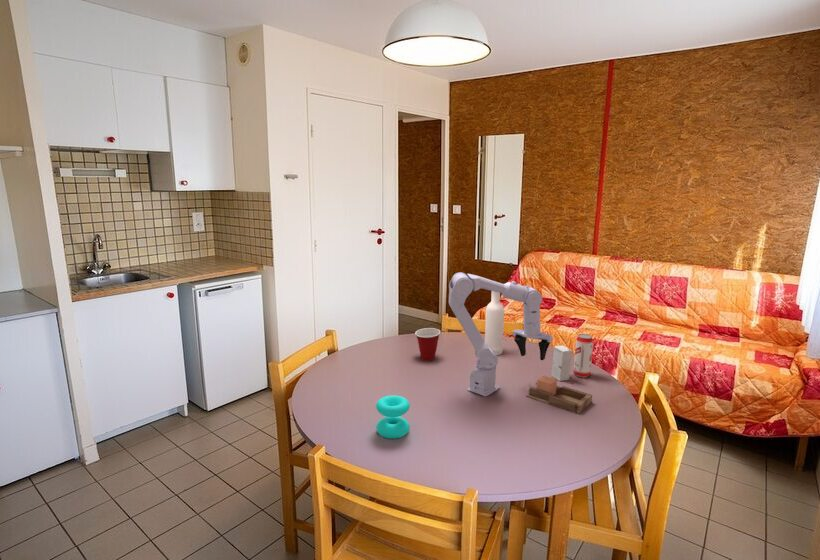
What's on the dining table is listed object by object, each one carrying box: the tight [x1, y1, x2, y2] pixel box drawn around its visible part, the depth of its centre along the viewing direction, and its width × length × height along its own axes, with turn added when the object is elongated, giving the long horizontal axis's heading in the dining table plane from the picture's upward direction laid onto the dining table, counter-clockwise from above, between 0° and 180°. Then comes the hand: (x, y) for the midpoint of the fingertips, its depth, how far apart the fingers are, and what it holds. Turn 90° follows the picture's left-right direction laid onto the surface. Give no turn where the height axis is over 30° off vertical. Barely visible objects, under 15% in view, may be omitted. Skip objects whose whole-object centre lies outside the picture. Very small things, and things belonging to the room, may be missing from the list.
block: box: [536, 375, 558, 396], centre depth 166 cm, size 5×5×6 cm
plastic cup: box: [414, 327, 441, 361], centre depth 200 cm, size 11×11×12 cm
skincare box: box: [551, 344, 573, 382], centre depth 181 cm, size 6×4×12 cm
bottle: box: [484, 291, 505, 356], centre depth 205 cm, size 8×8×30 cm
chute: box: [525, 385, 593, 415], centre depth 164 cm, size 11×19×3 cm, turn 48°
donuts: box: [375, 394, 410, 439], centre depth 142 cm, size 10×10×10 cm
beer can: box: [573, 333, 594, 379], centre depth 183 cm, size 6×6×16 cm
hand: (532, 357), depth 171 cm, fingers open, 7 cm apart
